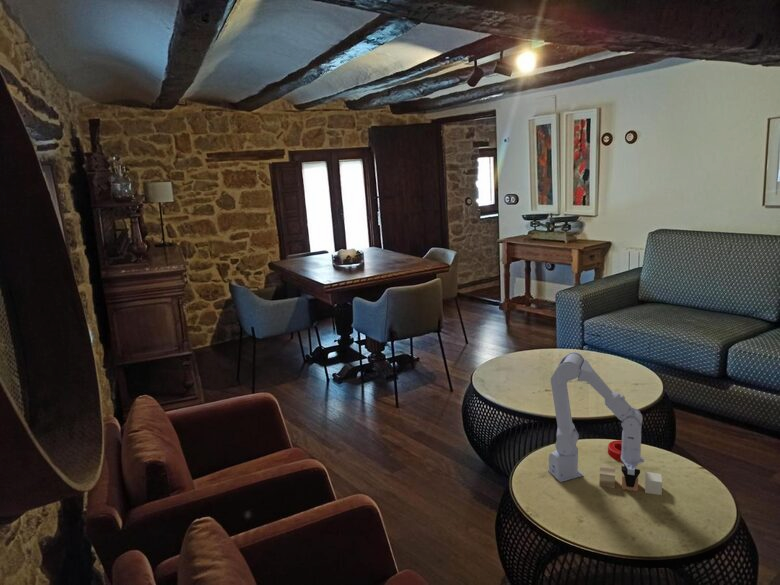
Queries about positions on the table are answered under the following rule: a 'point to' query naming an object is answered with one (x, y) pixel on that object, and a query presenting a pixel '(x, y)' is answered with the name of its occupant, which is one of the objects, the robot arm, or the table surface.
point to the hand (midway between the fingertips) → (629, 481)
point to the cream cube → (653, 483)
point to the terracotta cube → (629, 487)
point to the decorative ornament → (615, 449)
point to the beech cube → (607, 476)
